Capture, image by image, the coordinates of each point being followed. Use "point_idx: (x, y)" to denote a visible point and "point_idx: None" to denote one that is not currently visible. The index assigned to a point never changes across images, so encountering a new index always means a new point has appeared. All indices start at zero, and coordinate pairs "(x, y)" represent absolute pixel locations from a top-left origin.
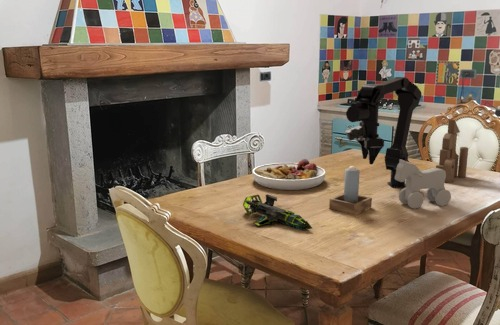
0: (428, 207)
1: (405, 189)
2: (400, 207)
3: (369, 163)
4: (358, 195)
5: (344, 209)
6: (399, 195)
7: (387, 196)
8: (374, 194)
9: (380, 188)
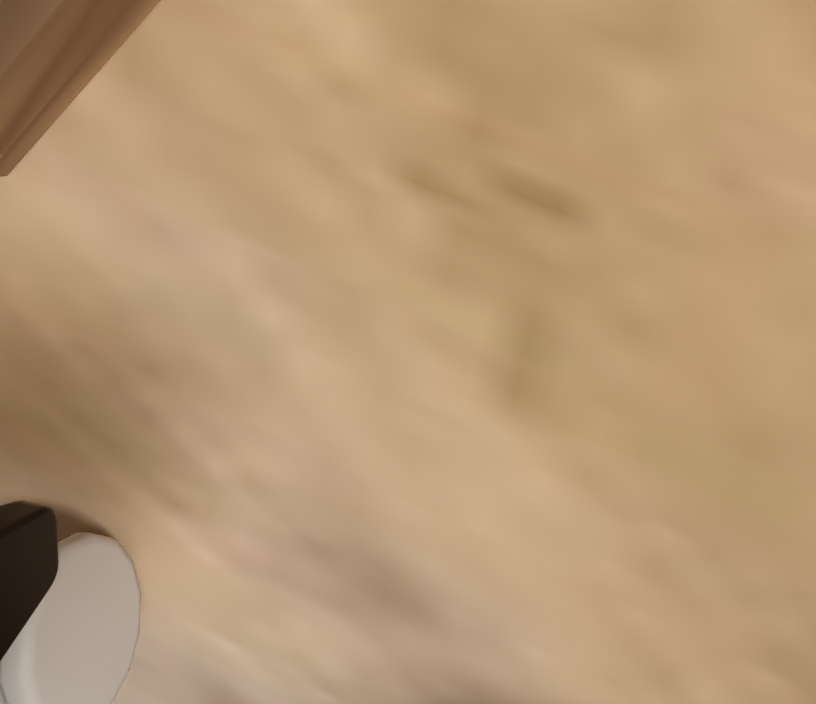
0: None
1: (2, 662)
2: (15, 469)
3: (31, 508)
4: (15, 33)
5: None
6: None
7: (391, 533)
8: (499, 435)
9: (734, 617)
